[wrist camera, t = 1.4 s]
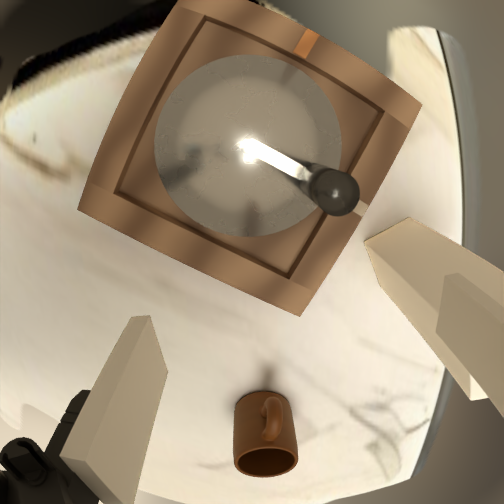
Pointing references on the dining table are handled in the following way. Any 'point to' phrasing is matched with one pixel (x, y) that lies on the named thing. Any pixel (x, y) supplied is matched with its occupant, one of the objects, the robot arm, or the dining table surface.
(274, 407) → the mug
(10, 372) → the dining table surface
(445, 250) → the milk
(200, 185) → the dial
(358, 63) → the board
